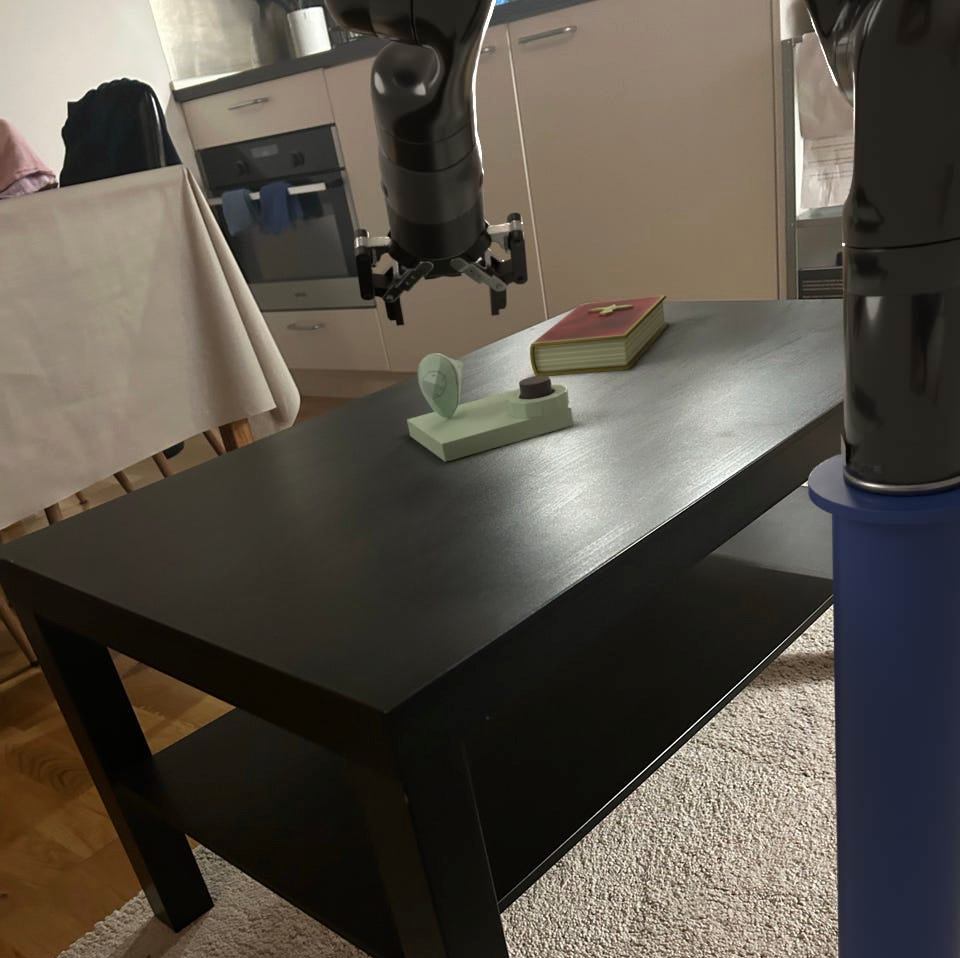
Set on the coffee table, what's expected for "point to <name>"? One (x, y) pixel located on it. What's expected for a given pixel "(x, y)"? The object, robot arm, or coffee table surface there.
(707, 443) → the coffee table surface
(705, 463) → the coffee table surface
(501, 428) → the pale green flat block
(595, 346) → the hardcover book
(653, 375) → the coffee table surface
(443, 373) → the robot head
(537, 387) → the button
